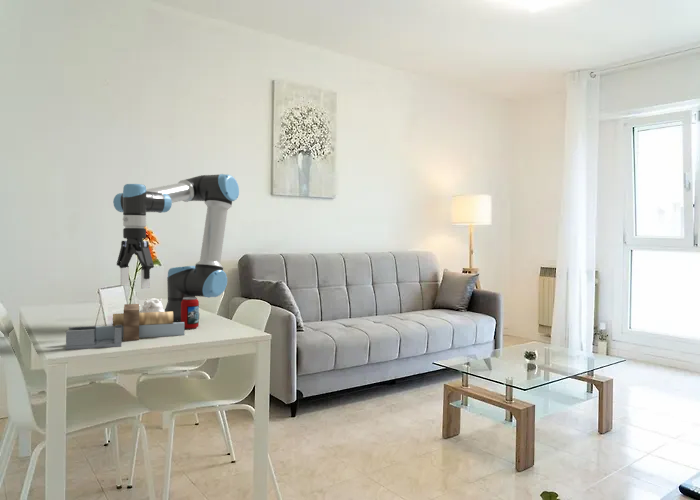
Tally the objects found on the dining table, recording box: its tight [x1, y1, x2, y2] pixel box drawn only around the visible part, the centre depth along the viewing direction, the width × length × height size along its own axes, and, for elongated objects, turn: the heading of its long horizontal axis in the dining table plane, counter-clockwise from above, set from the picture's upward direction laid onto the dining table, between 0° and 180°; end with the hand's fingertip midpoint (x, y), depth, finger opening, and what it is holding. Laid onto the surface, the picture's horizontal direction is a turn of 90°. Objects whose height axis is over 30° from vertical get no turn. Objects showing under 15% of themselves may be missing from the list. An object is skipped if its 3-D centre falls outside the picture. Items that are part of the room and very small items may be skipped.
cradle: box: [65, 325, 123, 351], centre depth 170 cm, size 16×9×6 cm, turn 113°
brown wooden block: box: [122, 303, 140, 342], centre depth 186 cm, size 5×17×11 cm, turn 23°
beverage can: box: [180, 296, 200, 330], centre depth 204 cm, size 7×7×12 cm
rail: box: [95, 321, 185, 340], centre depth 185 cm, size 30×2×4 cm, turn 113°
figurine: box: [139, 297, 165, 313], centre depth 201 cm, size 10×10×12 cm
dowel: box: [112, 311, 174, 326], centre depth 185 cm, size 20×4×4 cm, turn 113°
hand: (134, 287), depth 184 cm, fingers open, 13 cm apart
